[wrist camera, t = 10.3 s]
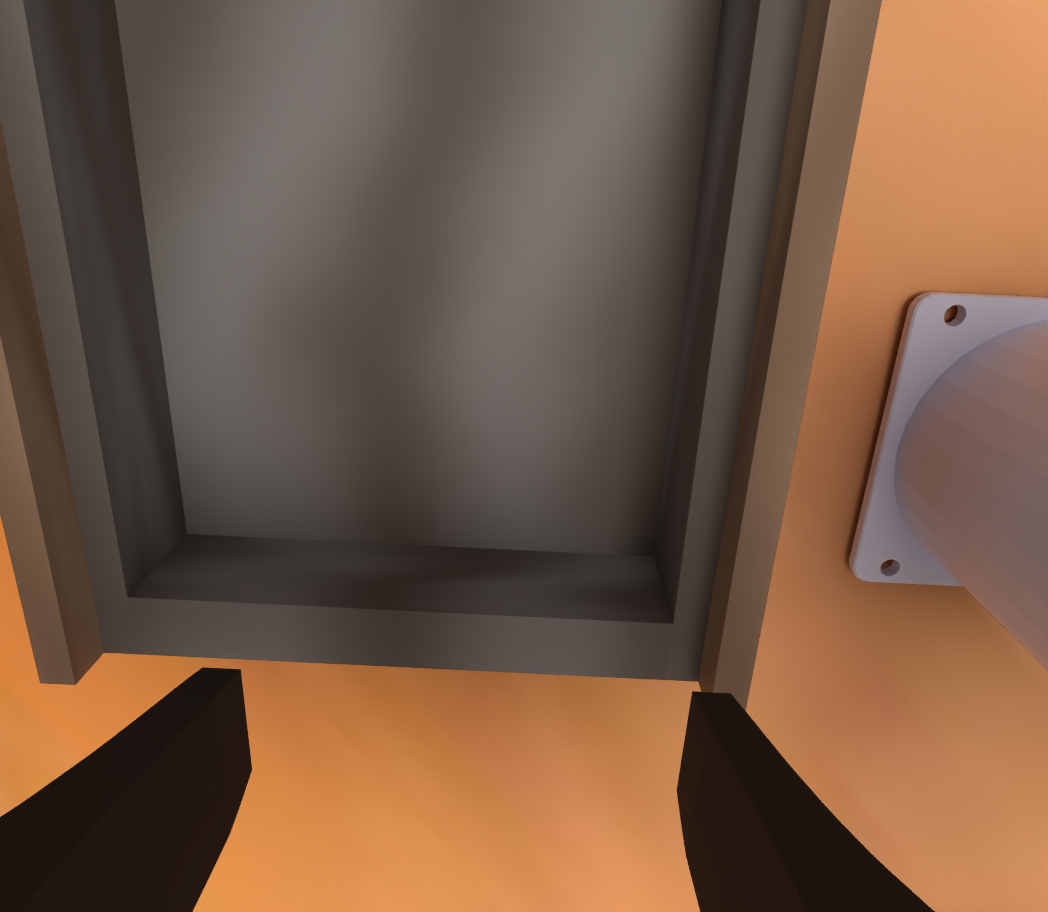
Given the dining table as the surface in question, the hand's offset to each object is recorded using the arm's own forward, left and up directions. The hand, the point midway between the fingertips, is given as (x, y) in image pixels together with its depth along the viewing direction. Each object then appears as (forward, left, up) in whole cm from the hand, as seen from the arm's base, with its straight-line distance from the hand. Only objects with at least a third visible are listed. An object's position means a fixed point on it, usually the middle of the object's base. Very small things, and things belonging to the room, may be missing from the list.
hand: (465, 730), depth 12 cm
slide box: (+2, -6, -9) cm, 11 cm away
